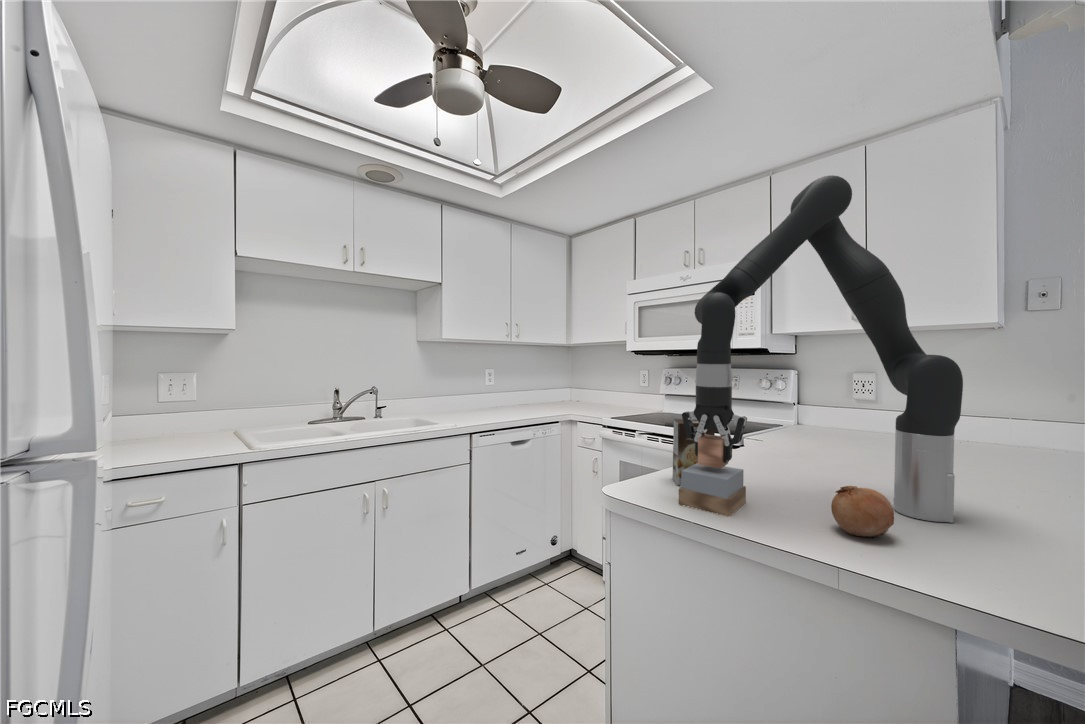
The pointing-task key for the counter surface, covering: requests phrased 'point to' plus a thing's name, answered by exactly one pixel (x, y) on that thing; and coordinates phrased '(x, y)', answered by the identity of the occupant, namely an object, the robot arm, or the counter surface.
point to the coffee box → (684, 448)
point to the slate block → (712, 480)
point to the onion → (862, 511)
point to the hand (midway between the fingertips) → (713, 459)
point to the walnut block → (713, 501)
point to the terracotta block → (711, 451)
